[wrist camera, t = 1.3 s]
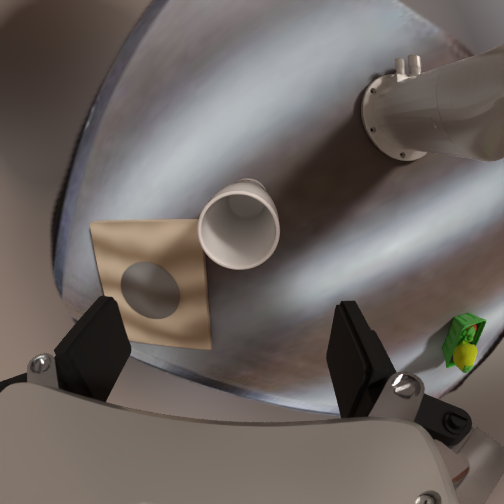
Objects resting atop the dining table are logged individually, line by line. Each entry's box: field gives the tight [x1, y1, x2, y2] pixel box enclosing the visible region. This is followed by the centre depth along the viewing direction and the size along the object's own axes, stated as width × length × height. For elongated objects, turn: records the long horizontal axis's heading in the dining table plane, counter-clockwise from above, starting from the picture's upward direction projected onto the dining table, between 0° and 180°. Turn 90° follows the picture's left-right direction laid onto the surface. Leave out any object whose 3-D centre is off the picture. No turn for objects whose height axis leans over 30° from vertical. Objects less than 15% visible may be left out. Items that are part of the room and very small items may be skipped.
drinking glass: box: [197, 178, 280, 270], centre depth 28 cm, size 7×7×15 cm
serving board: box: [90, 219, 212, 350], centre depth 40 cm, size 22×18×2 cm
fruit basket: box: [442, 313, 486, 373], centre depth 38 cm, size 11×9×11 cm
